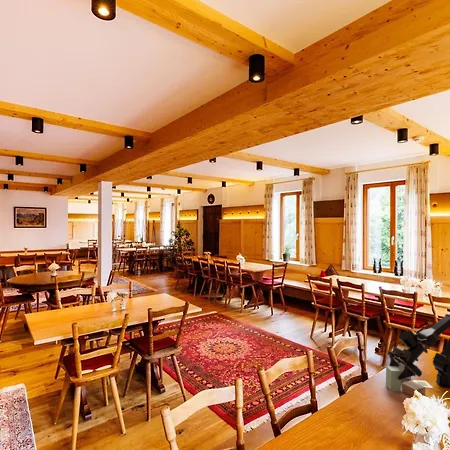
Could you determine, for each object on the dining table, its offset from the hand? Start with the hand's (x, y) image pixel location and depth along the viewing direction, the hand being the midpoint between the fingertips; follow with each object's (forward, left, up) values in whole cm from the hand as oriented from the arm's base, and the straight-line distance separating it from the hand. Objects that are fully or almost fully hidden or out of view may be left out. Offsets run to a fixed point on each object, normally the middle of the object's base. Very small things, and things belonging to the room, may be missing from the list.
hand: (393, 375), depth 158 cm
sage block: (0, -1, -7) cm, 7 cm away
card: (-17, -6, -7) cm, 20 cm away
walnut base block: (-8, +3, -7) cm, 11 cm away
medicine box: (-10, -13, -7) cm, 18 cm away
